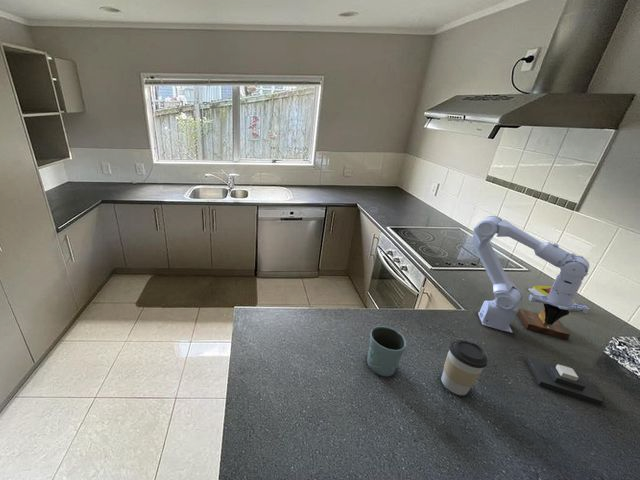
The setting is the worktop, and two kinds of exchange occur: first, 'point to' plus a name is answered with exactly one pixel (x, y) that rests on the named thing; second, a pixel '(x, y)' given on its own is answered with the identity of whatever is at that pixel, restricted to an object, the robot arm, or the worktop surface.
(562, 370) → the white square block
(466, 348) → the coffee cup
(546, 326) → the brown flat block
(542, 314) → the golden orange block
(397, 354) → the teal cup
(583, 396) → the dark grey base plate
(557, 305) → the robot arm
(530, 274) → the worktop surface
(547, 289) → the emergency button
